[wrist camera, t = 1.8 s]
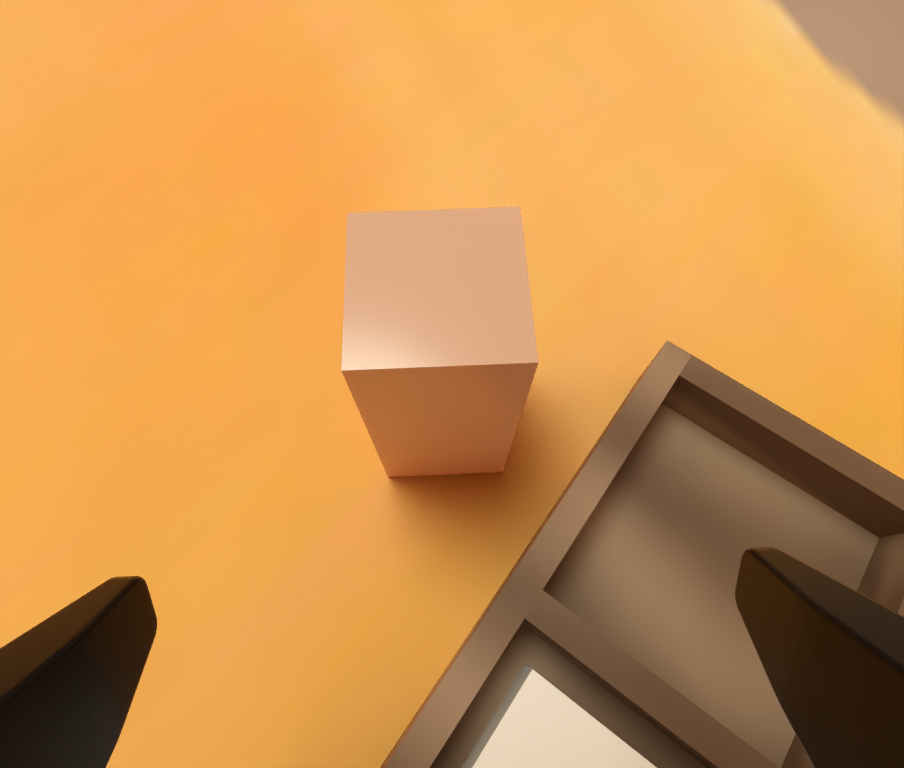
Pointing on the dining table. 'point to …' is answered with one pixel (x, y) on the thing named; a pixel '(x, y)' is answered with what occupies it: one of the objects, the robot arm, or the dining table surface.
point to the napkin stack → (547, 733)
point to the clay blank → (438, 336)
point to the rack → (671, 576)
